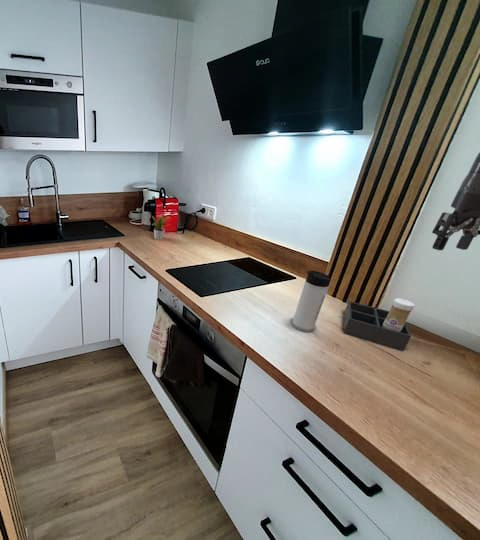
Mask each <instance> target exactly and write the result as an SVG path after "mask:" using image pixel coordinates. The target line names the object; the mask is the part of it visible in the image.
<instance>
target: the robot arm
mask: <svg viewBox="0 0 480 540" xmlns="http://www.w3.org/2000/svg"><path fill="white" fill-rule="evenodd" d="M450 207H451V208H453V209H454V210H453V212H452V213H451V212H441V214H440V216H439V218H438V220H437V222H436V224H435V226H434V228H433V230H432V232H431V233H432V234H433V235H434V234H435V235H436V238H435V240H434V242H433V244H432V249H433V250H437V251H443V250H444V249H445V248H446V245H447V243H448V241H449V239H450V238H451V236H453V234H455V233H458V232H460V231H461V230H462V235H461V236H460V238H459V240H458V242H457V244H456V245H455V248H456V249H459V250H463V251H465V250H468V249H469V247H470V246H471V243H472V241H473V240H474V238H476V237H478V236H480V152H479V153H478V154H477V155H476V157H475V158H474V160H473V163H472V164H471V167H470V168H469V170H468V172H467V174H466V175H465V177H464V179H463V180H462V182H461V183H460V186H459V188H458V190H457V192H456V194H455V196H454V197H453V200H452V202H451V204H450Z"/></svg>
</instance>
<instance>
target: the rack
mask: <svg viewBox="0 0 480 540" xmlns="http://www.w3.org/2000/svg"><path fill="white" fill-rule="evenodd" d="M389 311H390V310H385V309H382V308H378V307H373V306H370V305H367V304H362V303H358V302H354V301H350V300H348V302H347V304H346V306H345V309H344V311H343V312H344V316H343V318H342V319H343V320H342V321H343V326H342V327H343V328H342V329H343V334H344V335H348V336H351V337H354V338H358V339H361V340H364V341H369V342H372V343H375V344H378V345H380V346H384V347H388V348H391V349H393V350H398V351H401V352H404V351H405V349H406V347H407V345H408V343H409V342H410V340H411V338H412V334H411V332H410V329H409V327H408V323H407V321H406V322H405V324H404V326H403V328H402V330H401V332H397V331H394V330H390V329H386V328H383V327H382V325H383V323H384V321H385V319H386V317H387V315H388V313H389Z"/></svg>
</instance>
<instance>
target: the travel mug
mask: <svg viewBox="0 0 480 540" xmlns="http://www.w3.org/2000/svg"><path fill="white" fill-rule="evenodd" d="M306 274H307V276H306V279H305V282H304V284H303V288H302V290H301V293H300V297H299V300H298V303H297V305H296V310H295V312H294V315H293V319H292V322H291V325H292V326H293V328H294V329H296V330H298V331H301V332H303V333H311V332H313V331H314V329H315V325H316V323H317V320H318V318H319V315H320V312H321V309H322V306H323V303H324V300H325V298H326V295H327V293H328V290H329V286H330V283H331V282H332V278H331V277H329V275H328V274H325V273H323V272H320V271H317V270H308V271H307V273H306Z"/></svg>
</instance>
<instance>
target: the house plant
mask: <svg viewBox="0 0 480 540" xmlns="http://www.w3.org/2000/svg"><path fill="white" fill-rule="evenodd" d="M158 216H159V218H158V219H157V218H155V216H153V215H151V217H152V219H153V223H151V226H154V229H153V234H154V240H156V241H162V240H163V239H164V237H165V233H166V230H165V228H166V227H167V226H169V225H170V224H167V223H166V222H168V221H169V218H170V217H169V216H170V215H168V216H166V217H165V218H163V214H158Z"/></svg>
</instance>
